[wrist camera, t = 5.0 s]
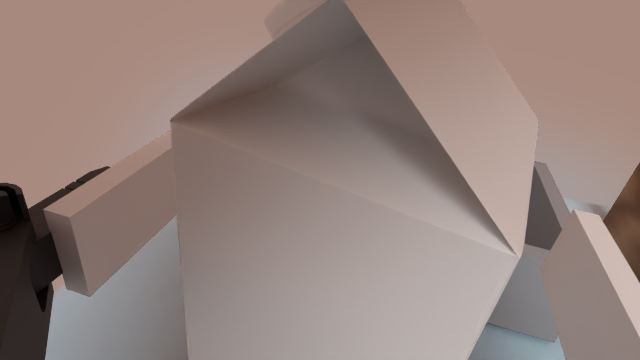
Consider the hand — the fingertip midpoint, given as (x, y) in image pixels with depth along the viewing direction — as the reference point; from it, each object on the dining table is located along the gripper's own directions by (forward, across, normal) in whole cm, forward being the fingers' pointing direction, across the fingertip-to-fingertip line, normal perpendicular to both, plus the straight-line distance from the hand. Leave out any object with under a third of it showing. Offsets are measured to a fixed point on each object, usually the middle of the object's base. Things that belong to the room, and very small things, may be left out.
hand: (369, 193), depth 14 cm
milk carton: (-3, 0, -11) cm, 11 cm away
